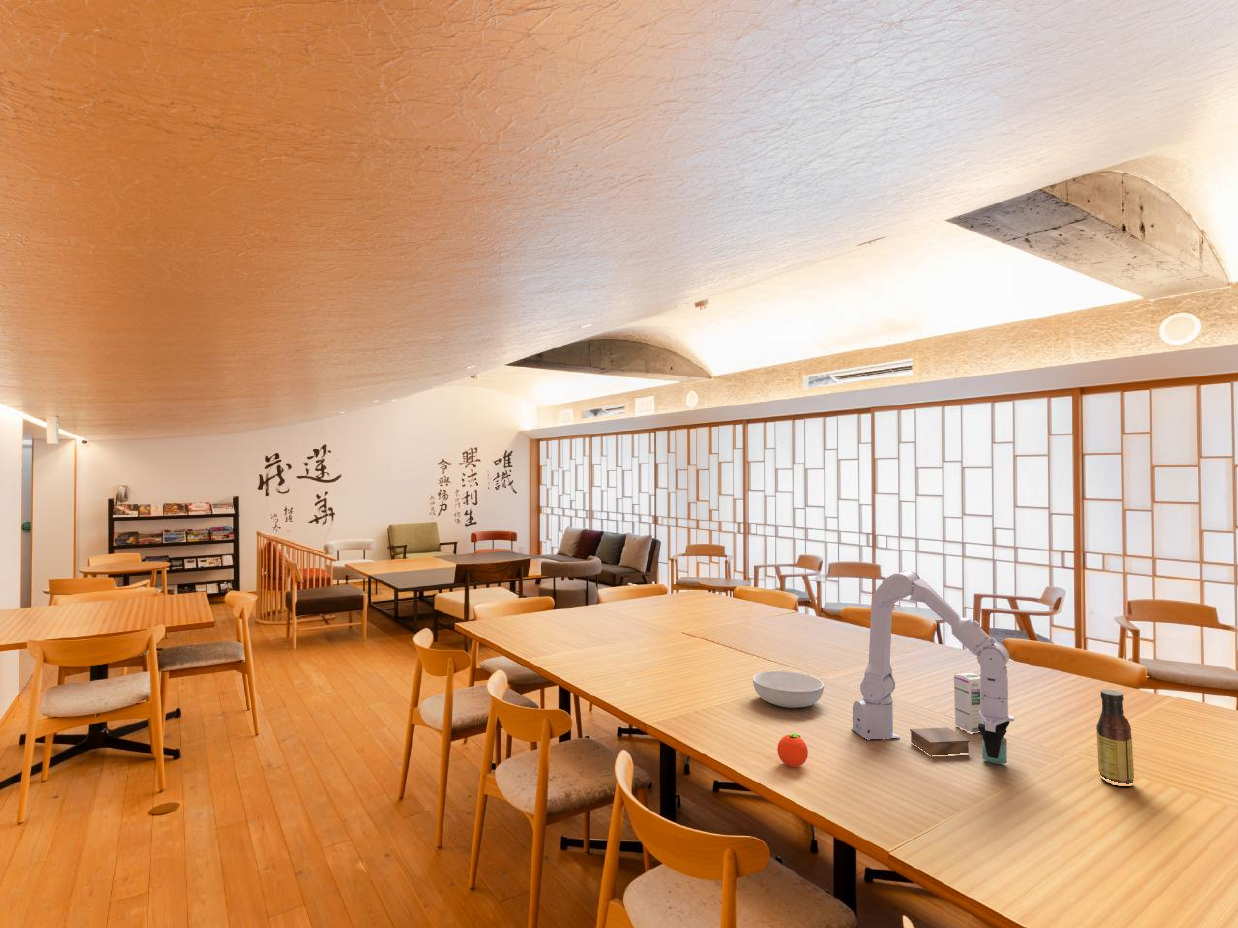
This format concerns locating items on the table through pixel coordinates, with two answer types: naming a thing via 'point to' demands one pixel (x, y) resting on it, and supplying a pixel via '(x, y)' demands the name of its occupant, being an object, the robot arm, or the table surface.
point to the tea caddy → (1002, 755)
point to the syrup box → (967, 701)
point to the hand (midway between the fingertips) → (994, 752)
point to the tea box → (939, 741)
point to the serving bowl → (788, 688)
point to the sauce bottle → (1114, 740)
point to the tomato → (792, 750)
